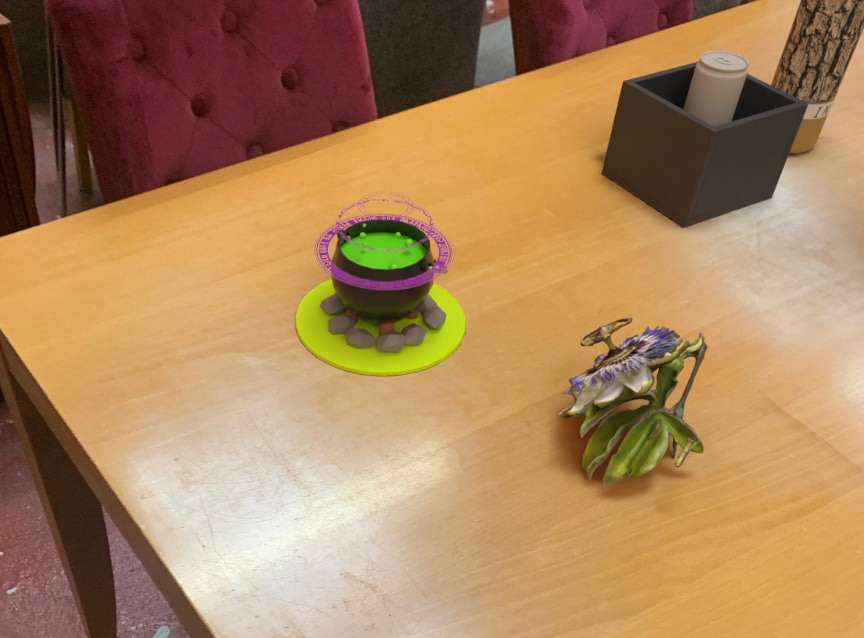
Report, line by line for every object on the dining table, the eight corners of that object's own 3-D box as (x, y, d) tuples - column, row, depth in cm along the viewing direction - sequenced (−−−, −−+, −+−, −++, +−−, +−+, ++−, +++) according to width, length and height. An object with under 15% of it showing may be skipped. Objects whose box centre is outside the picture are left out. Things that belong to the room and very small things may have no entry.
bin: (687, 147, 101) (714, 57, 94) (772, 197, 94) (809, 103, 86) (601, 173, 97) (622, 80, 89) (683, 227, 89) (714, 131, 82)
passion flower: (572, 460, 75) (607, 317, 72) (705, 494, 69) (748, 340, 67) (525, 468, 65) (563, 302, 62) (675, 508, 60) (724, 329, 57)
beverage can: (690, 194, 92) (728, 74, 83) (654, 175, 95) (688, 57, 86) (720, 180, 94) (761, 62, 85) (684, 162, 97) (720, 46, 88)
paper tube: (751, 150, 101) (845, -113, 82) (753, 124, 105) (843, -131, 86) (814, 160, 99) (925, -105, 80) (814, 134, 103) (919, -124, 85)
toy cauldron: (496, 308, 80) (514, 194, 72) (407, 399, 71) (417, 281, 63) (357, 255, 85) (359, 143, 77) (260, 333, 77) (251, 217, 69)
